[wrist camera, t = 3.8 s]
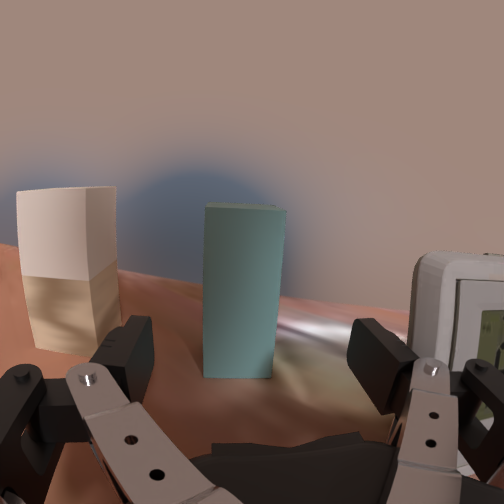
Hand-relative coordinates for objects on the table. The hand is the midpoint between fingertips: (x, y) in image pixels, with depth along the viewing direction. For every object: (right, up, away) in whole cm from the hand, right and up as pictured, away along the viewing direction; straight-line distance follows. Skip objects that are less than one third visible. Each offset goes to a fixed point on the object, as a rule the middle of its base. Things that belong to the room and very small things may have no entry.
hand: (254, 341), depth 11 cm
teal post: (-1, -4, +10) cm, 11 cm away
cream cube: (-14, +2, +9) cm, 17 cm away
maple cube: (-14, -4, +10) cm, 18 cm away
